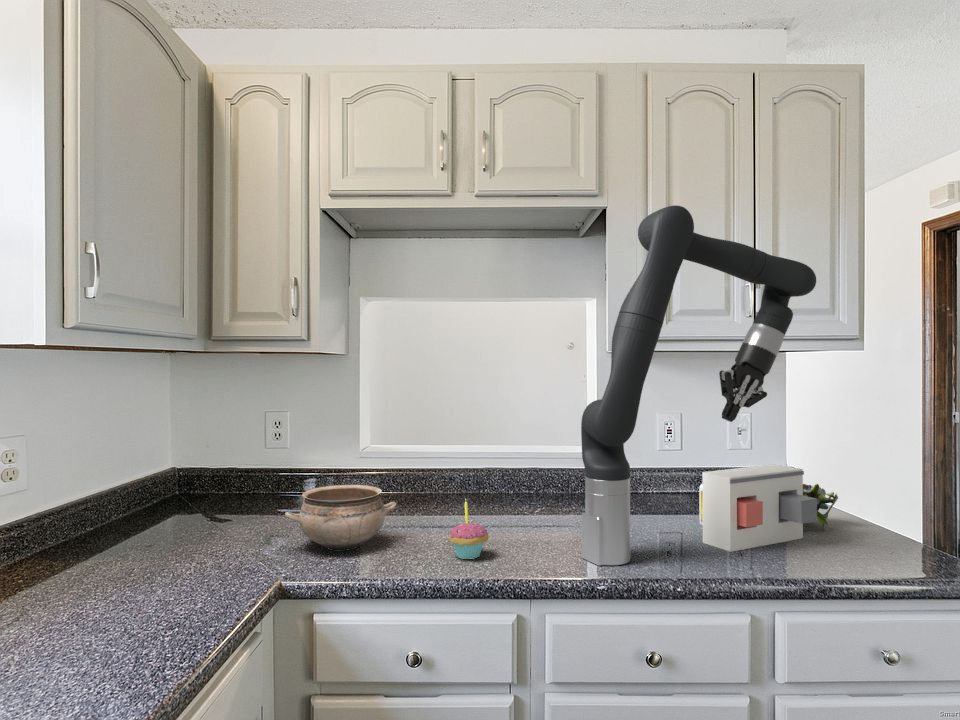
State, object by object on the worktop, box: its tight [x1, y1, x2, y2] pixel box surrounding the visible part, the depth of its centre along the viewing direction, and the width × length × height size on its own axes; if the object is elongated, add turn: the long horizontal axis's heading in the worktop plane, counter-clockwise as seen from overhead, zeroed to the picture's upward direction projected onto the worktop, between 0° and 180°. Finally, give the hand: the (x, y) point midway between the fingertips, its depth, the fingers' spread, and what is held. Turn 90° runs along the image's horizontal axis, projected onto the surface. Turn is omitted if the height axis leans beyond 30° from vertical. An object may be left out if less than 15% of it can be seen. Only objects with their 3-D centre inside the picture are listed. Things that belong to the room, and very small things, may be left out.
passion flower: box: [803, 483, 839, 532], centre depth 163 cm, size 13×12×14 cm
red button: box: [737, 497, 763, 527], centre depth 146 cm, size 5×6×5 cm
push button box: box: [701, 463, 805, 553], centre depth 151 cm, size 23×8×16 cm, turn 116°
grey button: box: [779, 494, 818, 525], centre depth 148 cm, size 5×6×5 cm
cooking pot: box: [284, 484, 397, 551], centre depth 149 cm, size 25×19×12 cm
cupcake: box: [448, 498, 490, 559], centre depth 141 cm, size 9×8×12 cm
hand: (726, 420), depth 145 cm, fingers closed
